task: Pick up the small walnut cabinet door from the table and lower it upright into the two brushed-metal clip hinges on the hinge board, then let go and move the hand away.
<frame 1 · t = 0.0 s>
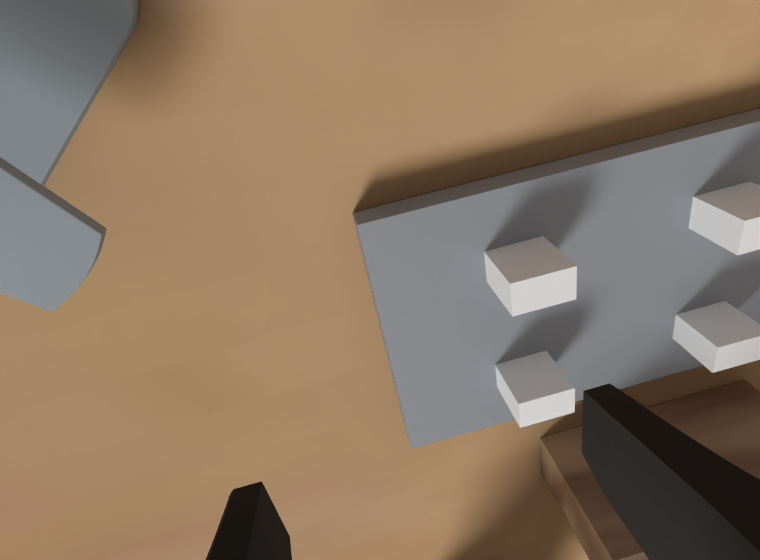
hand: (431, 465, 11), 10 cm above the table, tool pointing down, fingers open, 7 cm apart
hinge board: (598, 278, 22), on the table
cabinet door: (639, 425, 28), on the table
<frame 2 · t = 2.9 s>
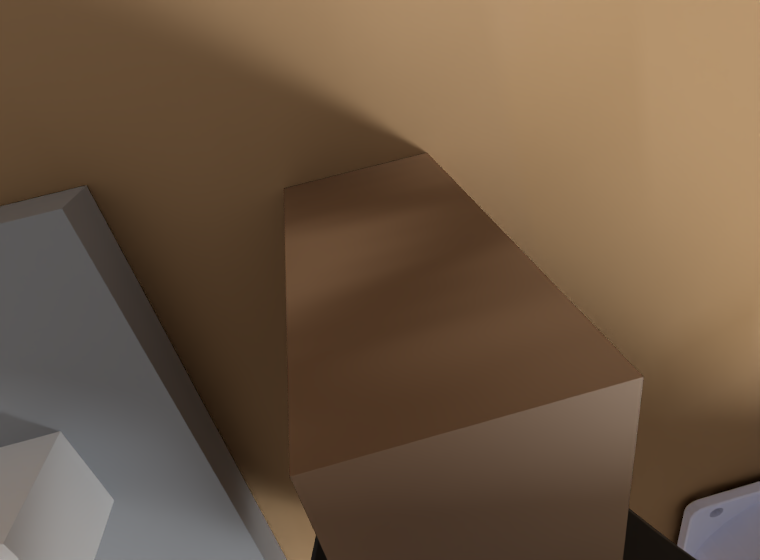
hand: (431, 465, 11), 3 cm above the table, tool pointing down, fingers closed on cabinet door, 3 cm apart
cabinet door: (405, 384, 13), on the table, touching gripper
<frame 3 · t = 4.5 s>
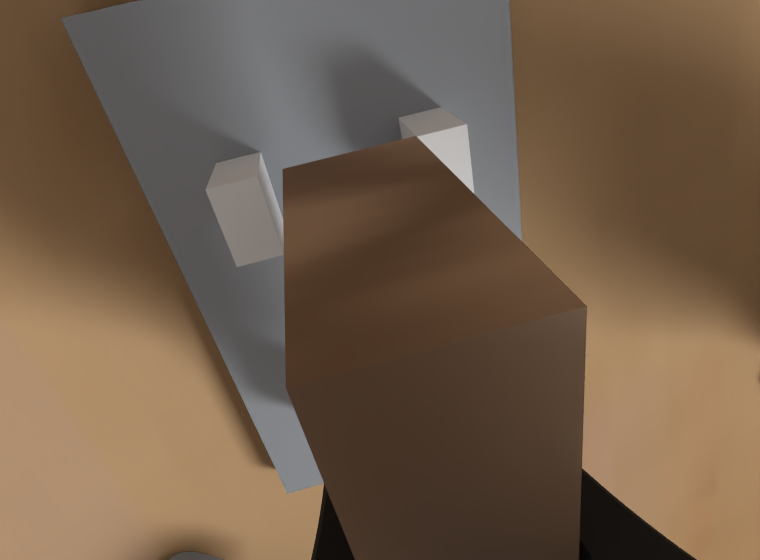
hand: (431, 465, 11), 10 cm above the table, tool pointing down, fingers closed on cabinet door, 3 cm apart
hinge board: (362, 267, 19), on the table
cabinet door: (397, 359, 14), point 6 cm above the table, touching gripper
when the fingers open (5 cm above the table, at t = 6.2 s): cabinet door stays where it is, resting on hinge board.
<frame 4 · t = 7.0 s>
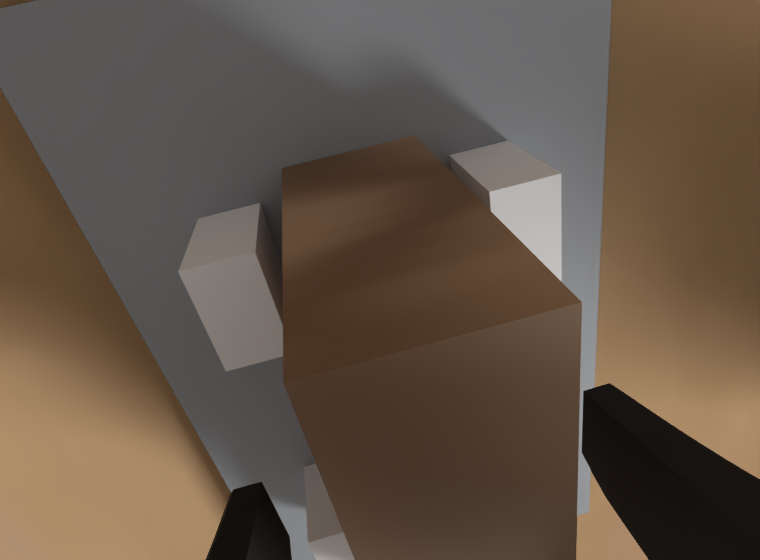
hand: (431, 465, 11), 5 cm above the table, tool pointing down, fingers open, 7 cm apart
hinge board: (389, 337, 15), on the table
cabinet door: (396, 358, 14), point 1 cm above the table, touching hinge board
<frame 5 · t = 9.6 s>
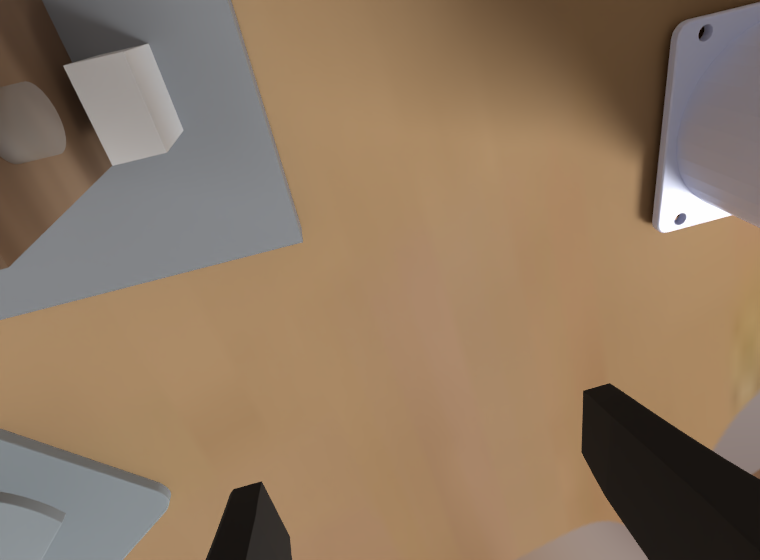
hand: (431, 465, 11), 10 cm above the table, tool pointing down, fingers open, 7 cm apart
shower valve: (3, 498, 23), on the table
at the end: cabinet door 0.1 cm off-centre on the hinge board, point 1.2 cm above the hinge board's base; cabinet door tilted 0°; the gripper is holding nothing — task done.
